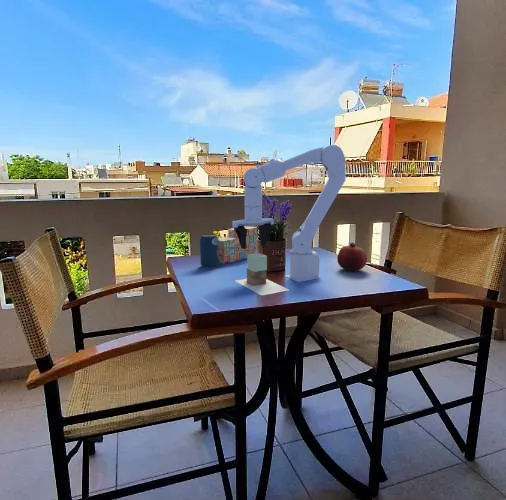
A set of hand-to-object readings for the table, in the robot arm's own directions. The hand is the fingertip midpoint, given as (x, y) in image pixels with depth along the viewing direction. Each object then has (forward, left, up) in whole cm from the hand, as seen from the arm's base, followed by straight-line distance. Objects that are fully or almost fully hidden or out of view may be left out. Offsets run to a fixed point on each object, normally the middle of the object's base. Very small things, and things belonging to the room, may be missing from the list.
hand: (253, 247), depth 124 cm
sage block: (+3, +7, -6) cm, 10 cm away
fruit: (-35, +10, -11) cm, 38 cm away
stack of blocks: (-8, -28, -11) cm, 31 cm away
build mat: (+3, +10, -10) cm, 15 cm away
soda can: (+7, -21, -11) cm, 25 cm away
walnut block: (+3, +7, -10) cm, 12 cm away
